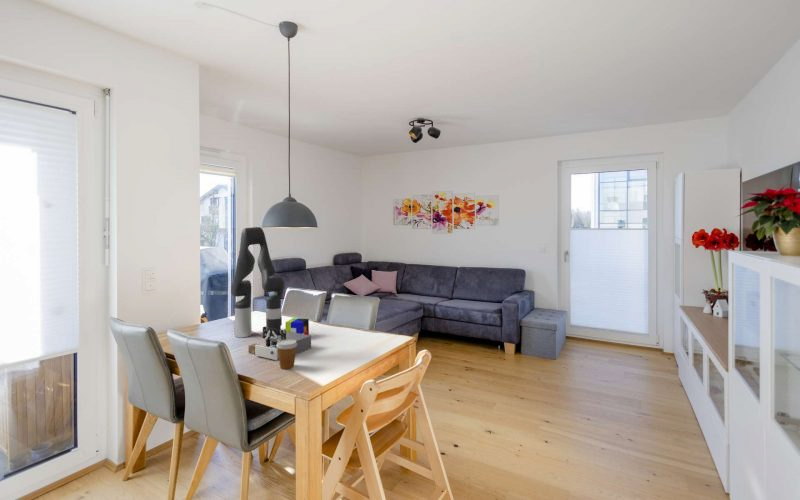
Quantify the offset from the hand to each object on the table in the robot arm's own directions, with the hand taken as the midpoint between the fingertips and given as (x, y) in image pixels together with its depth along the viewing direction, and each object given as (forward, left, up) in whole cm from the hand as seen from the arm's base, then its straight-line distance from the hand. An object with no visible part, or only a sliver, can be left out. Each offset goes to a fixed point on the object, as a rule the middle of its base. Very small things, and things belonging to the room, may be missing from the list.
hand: (274, 348), depth 203 cm
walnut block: (-13, -2, -4) cm, 14 cm away
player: (0, +11, -4) cm, 12 cm away
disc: (0, 0, -2) cm, 2 cm away
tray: (0, +1, -3) cm, 3 cm away
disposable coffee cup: (+17, -9, -4) cm, 19 cm away
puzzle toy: (-14, +31, -4) cm, 35 cm away
